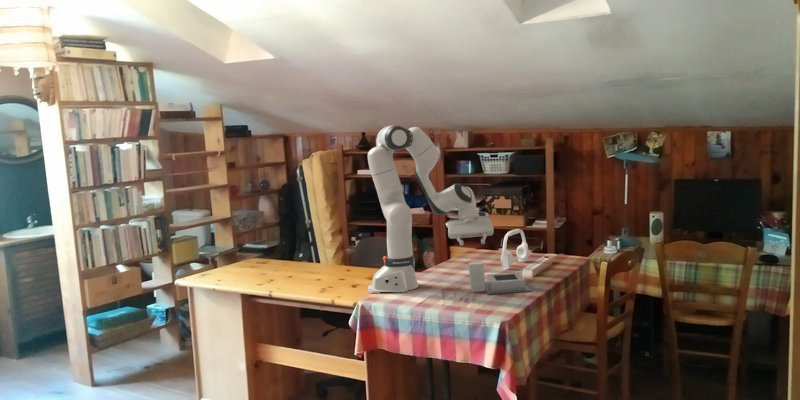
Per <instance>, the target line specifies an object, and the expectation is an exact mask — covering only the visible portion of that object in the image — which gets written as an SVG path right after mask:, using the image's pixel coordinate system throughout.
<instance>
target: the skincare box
mask: <svg viewBox="0 0 800 400" xmlns="http://www.w3.org/2000/svg"><path fill="white" fill-rule="evenodd" d="M468 273H469V285H470V287H469V288H470V291H471V293H478V292H480V293H481V292H486V290H485V282H486V279H485V277H486V276H485V264H484V263H483V261H474V262H473V261H472V262H468Z"/></svg>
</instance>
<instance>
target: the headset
mask: <svg viewBox="0 0 800 400" xmlns="http://www.w3.org/2000/svg"><path fill="white" fill-rule="evenodd" d="M517 234H520V236H521V240H522V242H521V244H520V245H518V246H517V248H516V256H517V258H518V260H517V262H526V261H528V258H529V256H530V250H529V247H528V246H529V245H528V243H527V240H526V236H525V232H524V230H522V229H521V228H515V229H512V230H509V231H507V233H506V234H505V235H504V238H503V241H502V242H503V243H502V250H501V253H500V254H501V255H500V262H501V264H502V270H503V271H505V270H509V268H510V267H512V265H513V264H514V262H515V258H514V255H513V254H512V253H511V252H510V251H508V250H507V244H508V239H509V237H512V236H514V235H517Z"/></svg>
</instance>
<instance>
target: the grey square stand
mask: <svg viewBox="0 0 800 400" xmlns="http://www.w3.org/2000/svg"><path fill="white" fill-rule="evenodd" d="M485 292H486V294H487V295H488V296H493V295H494V296H495V295H496V296H497V295H508V294H521V293H522V294H523V293H532V289H531V288H530V287H529V285H528V284H527V283H526V279H525V278H524V277H523V276H522V274H521V273H520V272H519V271H518V272H505V273H504V272H503V273H489V274H486V281H485Z"/></svg>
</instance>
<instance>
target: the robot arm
mask: <svg viewBox="0 0 800 400" xmlns="http://www.w3.org/2000/svg"><path fill="white" fill-rule="evenodd" d="M404 149H405V150H407V152H408V153H409V154H410V156H411V158H412V159H413V160H414V163H415V167H414V174H415V177H416V179H417V181H418V183H419V185H420V187H421V189H422V192H423V193H424V195H425V197H426V199H427V202H428V205H429V208H430V209H431V211H432V213H434V214H435V215H438V216H445V215H447V214H448V213H449V212H451V211H452V210H454V209H456V208H457V210H458V213H457V215H458V218H457V219H456V218H455V219H449V220H448V221H446V223H445V225H446V228H448V229H447V235H448V238H449V239H452V240H453V239H454V240H455V239H456V241H457V242H458V243H459V245H460V247H461V246H465V245H464V240H463V239H465V238H474V237H476V238H477V237H482V238H481V239H480V242H481V243H480V244H482V245H484V244H486V239H487V237H488V236H493V234H494V232H495V231H494V229H495V228H494V226H493V222H492V220H491V218H489V213H488V212H485V211H482V210H481V211H480V210H478V209H477V201H476V197H475V193H474V191H473V190H472V189H471V187H469V186H466V185H463V184H461V183H454V184H453V185H451V186H449V187H447V188H445V189H443V190H442V191H440V192H437V191H436V189H435V187H434V185H433V184H432V182H431V180H430V172H431V171H432V170H433V168H434V167H435V166H436V165H437V163H438V160H439V155H440V154H439V150H438V148H437V147H436V145H435V144H434V142H433V141H432V140H431V138H430V137H429V136H428V135H427V134H426V133H425V132H424V130H422V129H421V128H420V127H419V126H413V127H409V128H406V127H404V126H401V125H393V124H391V125H386V126H384V127H382V128H381V127H380V129H379V130H378V131H377V132H376V135H375V142H374V147H372V148H371V149H369V151H368V152H367V163H368V168H369V171H370V174H371V177H372V181H373V183H374V187H375V190H376V193H377V197H378V200H379V203H380V204H379V205H380V208H381V212H382V213H383V216H384V219H385V220H386V249H387V256H385V255H384V256H383V257H382V261H383V266H382V267H380V268H379V269H378V270H377V271H376V272H375V273H374V274H373V277H372V280H371V282H372V283H371V284H369V285H368V287H367V291H368V293H370V294H381V293H380V292H403V293H406V292H409V291H411V290H415V289H417V288H418V287H419V285H420V284H419V283H418V280H417V275H416V271H415V263H416V262H415V257H414V252H413V242H412V238H413V237H412V235H413V232H412V231H413V215H412V210H411V208H410V206H409V205H408V204H407V202H406V199H405V196H404V192H403V187H402V183H401V180H400V177H399V174H398V171H397V168H396V164H395V161H394V152H397V151H402V150H404ZM408 290H409V291H408ZM405 291H406V292H405Z"/></svg>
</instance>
